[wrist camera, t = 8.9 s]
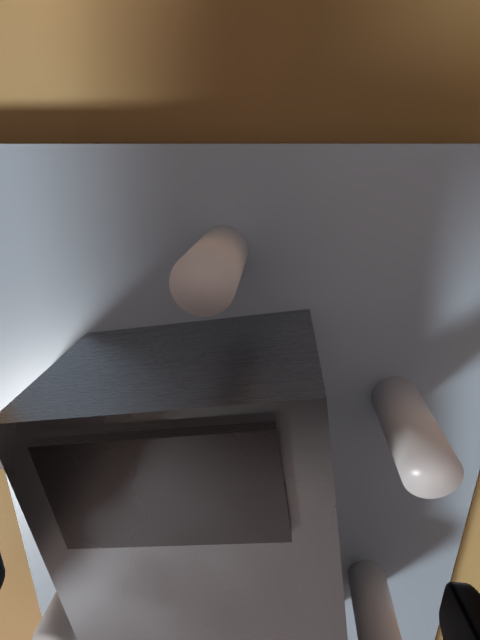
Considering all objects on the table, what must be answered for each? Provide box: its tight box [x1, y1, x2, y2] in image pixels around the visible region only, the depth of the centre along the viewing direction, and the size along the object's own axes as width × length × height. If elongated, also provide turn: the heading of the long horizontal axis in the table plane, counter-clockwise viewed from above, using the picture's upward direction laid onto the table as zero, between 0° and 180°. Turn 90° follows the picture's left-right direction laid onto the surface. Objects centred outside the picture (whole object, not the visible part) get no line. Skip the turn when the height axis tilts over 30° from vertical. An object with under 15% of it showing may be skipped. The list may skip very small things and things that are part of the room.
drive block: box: [0, 309, 348, 640], centre depth 9 cm, size 9×5×4 cm, turn 9°
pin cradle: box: [0, 144, 480, 640], centre depth 10 cm, size 16×12×4 cm
